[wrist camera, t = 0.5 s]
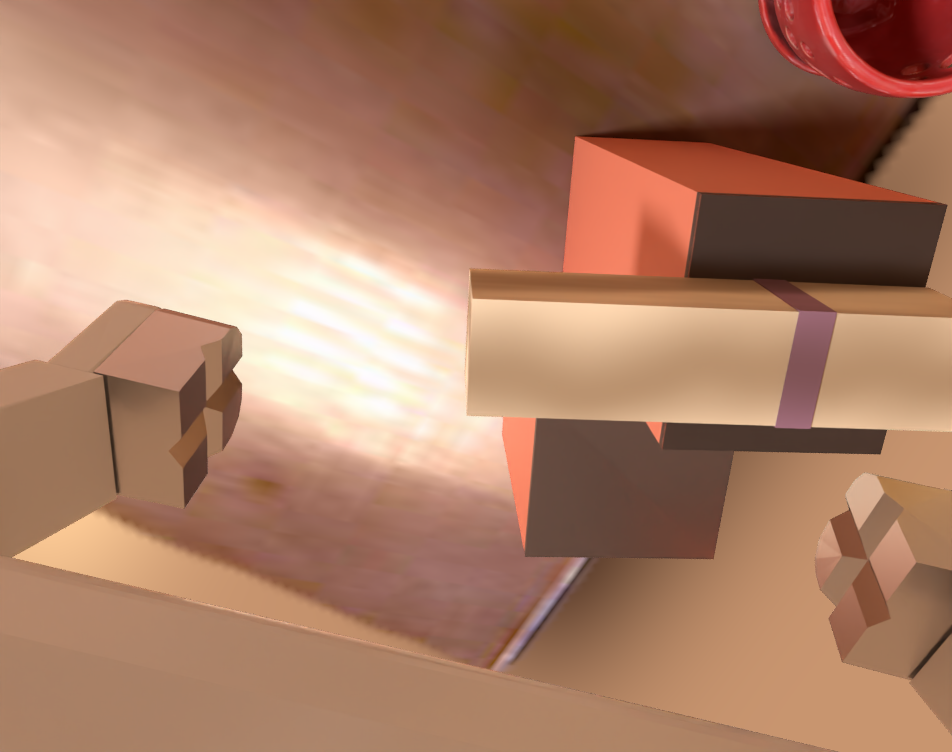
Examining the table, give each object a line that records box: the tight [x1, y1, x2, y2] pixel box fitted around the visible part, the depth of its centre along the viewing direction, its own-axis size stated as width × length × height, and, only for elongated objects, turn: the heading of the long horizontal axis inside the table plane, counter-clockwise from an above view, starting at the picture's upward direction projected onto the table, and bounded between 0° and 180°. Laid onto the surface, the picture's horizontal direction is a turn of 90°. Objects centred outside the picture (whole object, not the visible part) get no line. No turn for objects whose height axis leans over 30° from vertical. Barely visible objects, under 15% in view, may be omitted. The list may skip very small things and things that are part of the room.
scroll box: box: [465, 268, 952, 432], centre depth 27 cm, size 4×17×4 cm, turn 87°
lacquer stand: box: [502, 136, 947, 559], centre depth 43 cm, size 22×12×26 cm, turn 177°
